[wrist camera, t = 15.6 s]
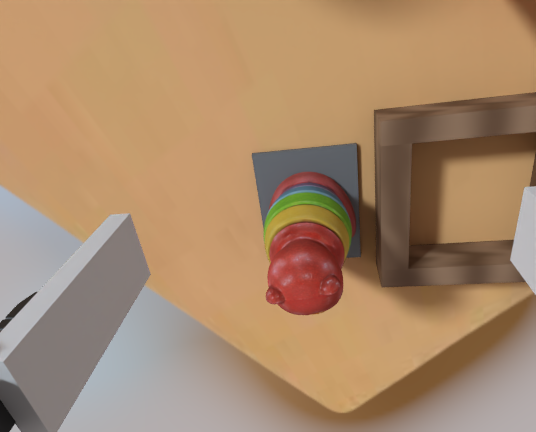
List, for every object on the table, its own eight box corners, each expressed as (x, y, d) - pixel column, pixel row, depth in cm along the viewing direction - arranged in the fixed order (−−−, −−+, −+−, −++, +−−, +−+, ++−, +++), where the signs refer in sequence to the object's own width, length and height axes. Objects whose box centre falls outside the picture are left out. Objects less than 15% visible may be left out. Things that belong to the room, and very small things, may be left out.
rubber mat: (269, 259, 53) (269, 261, 53) (252, 153, 46) (251, 154, 46) (360, 254, 51) (360, 256, 51) (356, 143, 44) (356, 144, 44)
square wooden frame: (376, 263, 51) (381, 287, 47) (373, 110, 43) (380, 121, 38) (544, 255, 48) (566, 280, 44) (579, 87, 39) (612, 97, 35)
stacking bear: (273, 247, 51) (254, 351, 36) (257, 176, 47) (227, 259, 31) (357, 238, 49) (376, 343, 34) (349, 162, 45) (365, 243, 29)
